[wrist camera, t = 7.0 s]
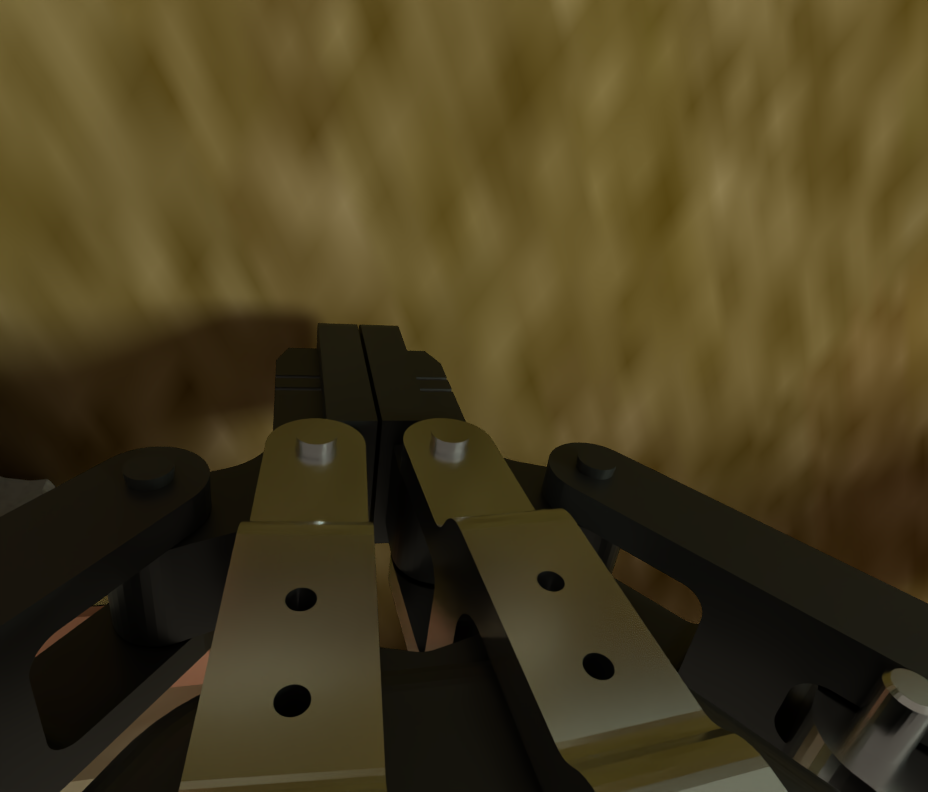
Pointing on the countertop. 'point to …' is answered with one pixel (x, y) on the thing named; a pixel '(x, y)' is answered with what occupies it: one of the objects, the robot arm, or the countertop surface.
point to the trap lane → (171, 699)
